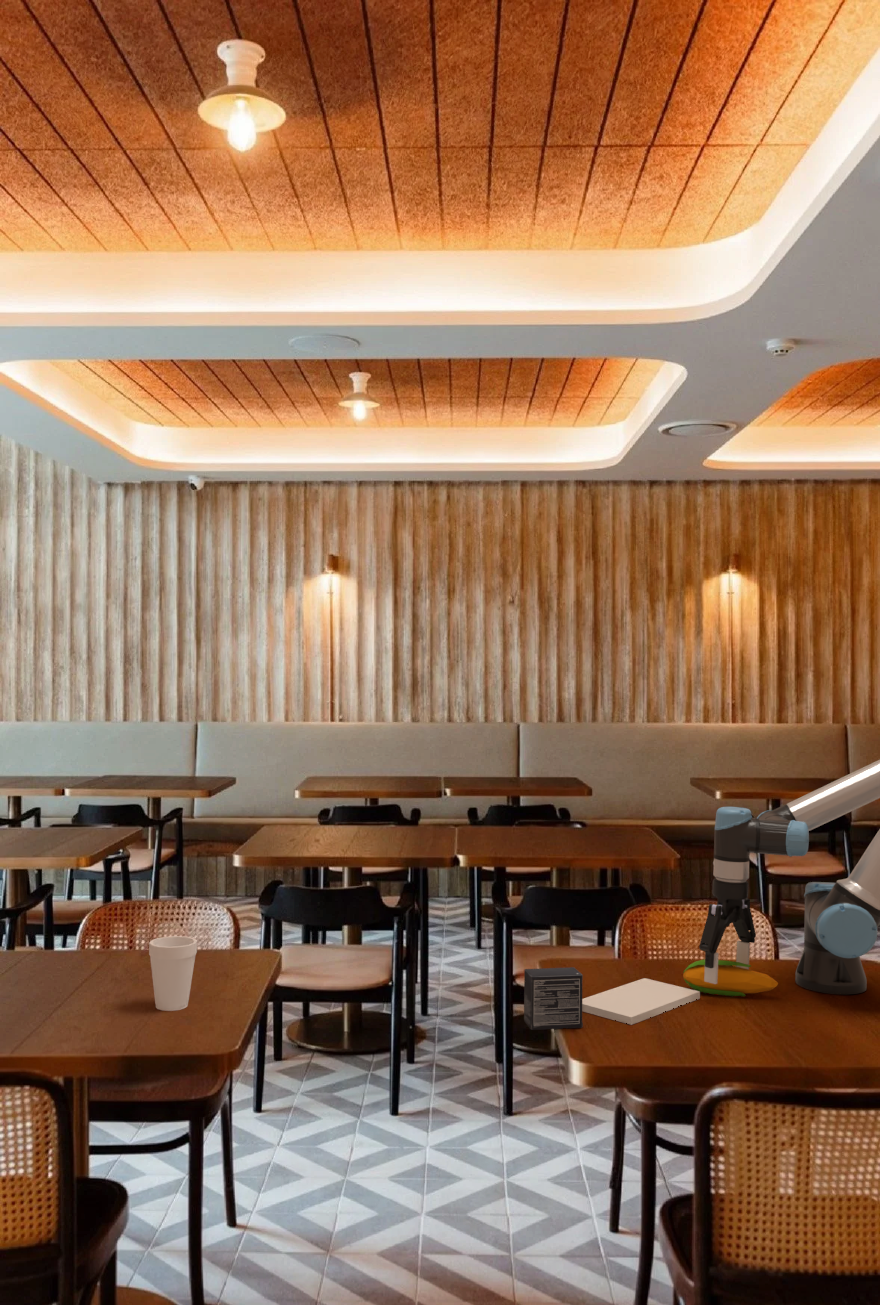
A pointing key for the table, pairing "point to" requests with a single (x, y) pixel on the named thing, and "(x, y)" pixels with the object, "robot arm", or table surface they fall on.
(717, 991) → the mango
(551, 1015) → the small box
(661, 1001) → the platter
